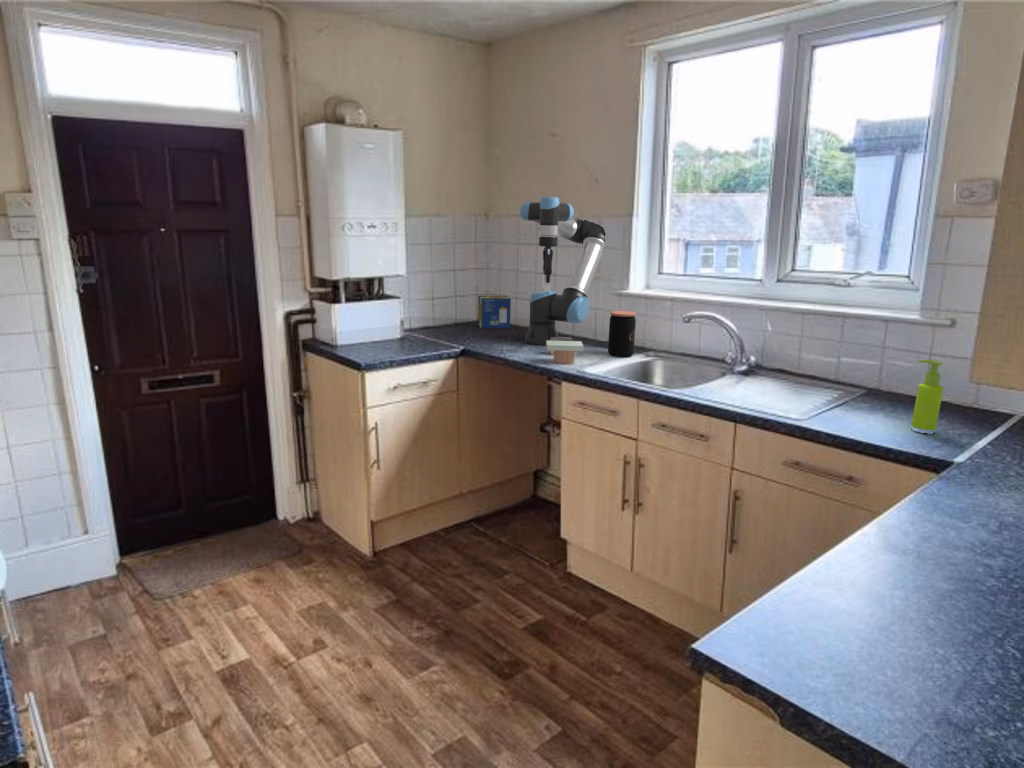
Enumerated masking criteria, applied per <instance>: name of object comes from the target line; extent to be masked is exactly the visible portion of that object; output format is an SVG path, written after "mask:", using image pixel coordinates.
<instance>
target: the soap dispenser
mask: <svg viewBox="0 0 1024 768" xmlns="http://www.w3.org/2000/svg"><path fill="white" fill-rule="evenodd" d="M918 363H927V364H930V369H929V371H927V372H925V376H924V382H923V383H919V384H918V386H917V392H916V398H915V403H914V408H913V415H912V420H911V425H912V426H913V427H915V428H918V429H924V430H935V429H936V430H937V425H938V419H939V414H940V409H941V404H942V398H943V392H944V387H943V386H942V385H940V378H941V373H939V371H938V369H939V366H942V364H943V362H941V361H939V360H938V361H937V360H932V359H920V360H918Z"/></svg>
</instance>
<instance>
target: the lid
mask: <svg viewBox="0 0 1024 768" xmlns="http://www.w3.org/2000/svg"><path fill="white" fill-rule="evenodd" d="M545 347H546V351H550V350H558V351H575V352H584V344H583V342H582V341H581V340H578V341H577V340H573V341H546V345H545Z"/></svg>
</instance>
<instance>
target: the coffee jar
mask: <svg viewBox="0 0 1024 768" xmlns="http://www.w3.org/2000/svg"><path fill="white" fill-rule="evenodd" d="M609 315H610V318H609V328H608V340H607V341H608V344H607V353H608V354H609V356H610V355H611V357H613V356H615V357H614V358H629V357H628V356H631V355H632V356H633V355H634V353H635V352H634V351H635V340H636V339H635V337H636V324H637V318H636V316H637V313H636V312H634V311H631V310H630V311H629V310H612V311H610V313H609ZM632 356H631V357H632Z"/></svg>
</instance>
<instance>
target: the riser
mask: <svg viewBox="0 0 1024 768" xmlns="http://www.w3.org/2000/svg"><path fill="white" fill-rule="evenodd" d="M550 341H574V340H573V337H568V336H567V337H566V336H565V337H564V336H558V337H550ZM549 353H550V356H554V350H549Z"/></svg>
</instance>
